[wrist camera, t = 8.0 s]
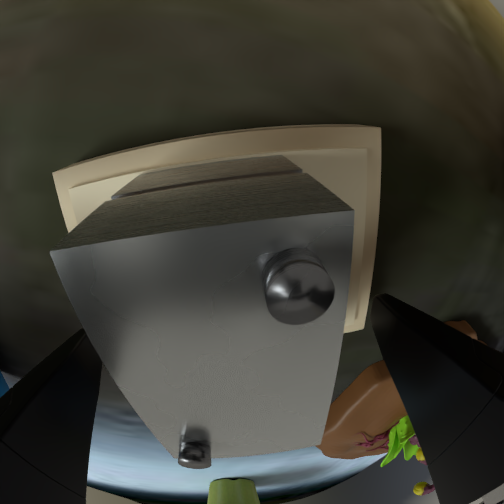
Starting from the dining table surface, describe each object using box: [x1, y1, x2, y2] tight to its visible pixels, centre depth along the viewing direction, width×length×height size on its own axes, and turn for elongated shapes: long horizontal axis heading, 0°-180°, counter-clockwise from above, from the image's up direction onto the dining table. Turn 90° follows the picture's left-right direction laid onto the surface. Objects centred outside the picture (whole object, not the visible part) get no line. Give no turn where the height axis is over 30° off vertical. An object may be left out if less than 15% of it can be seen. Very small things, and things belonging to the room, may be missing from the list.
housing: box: [50, 155, 355, 469], centre depth 8 cm, size 5×8×7 cm, turn 5°
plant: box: [316, 320, 487, 495], centre depth 18 cm, size 20×20×11 cm
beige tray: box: [53, 124, 381, 333], centre depth 12 cm, size 10×13×2 cm
